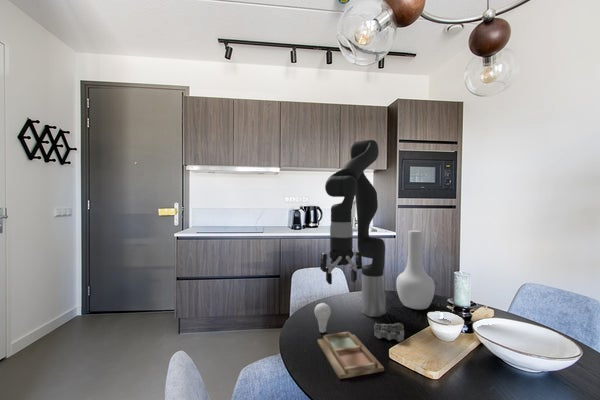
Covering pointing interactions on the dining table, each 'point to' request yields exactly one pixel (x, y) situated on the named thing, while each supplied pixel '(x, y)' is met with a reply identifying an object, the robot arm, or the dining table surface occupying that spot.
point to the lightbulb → (322, 316)
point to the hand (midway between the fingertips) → (341, 282)
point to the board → (348, 355)
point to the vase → (415, 277)
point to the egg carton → (392, 328)
